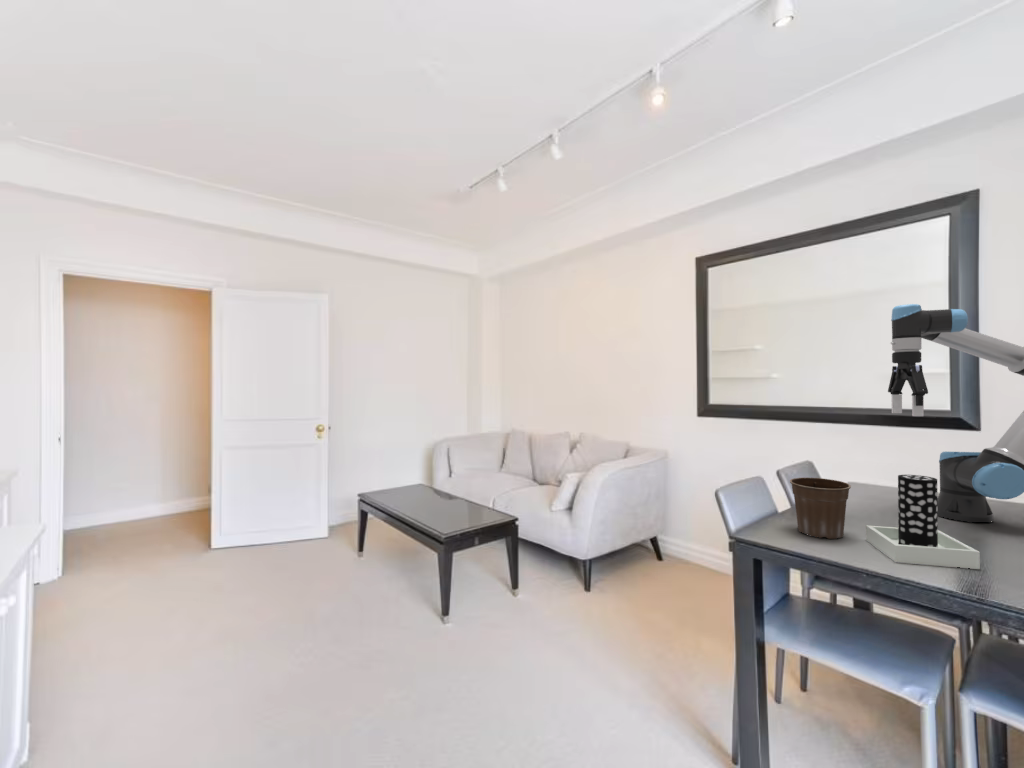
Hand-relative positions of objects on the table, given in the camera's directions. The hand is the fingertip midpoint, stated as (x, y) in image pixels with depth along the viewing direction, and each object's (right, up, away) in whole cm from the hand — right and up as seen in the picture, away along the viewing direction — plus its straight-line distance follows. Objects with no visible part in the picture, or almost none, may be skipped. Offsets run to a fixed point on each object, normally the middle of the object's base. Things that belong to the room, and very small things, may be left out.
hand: (906, 414), depth 157 cm
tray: (-19, -37, -26) cm, 49 cm away
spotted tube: (-19, -36, -26) cm, 49 cm away
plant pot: (-34, -37, -8) cm, 51 cm away
